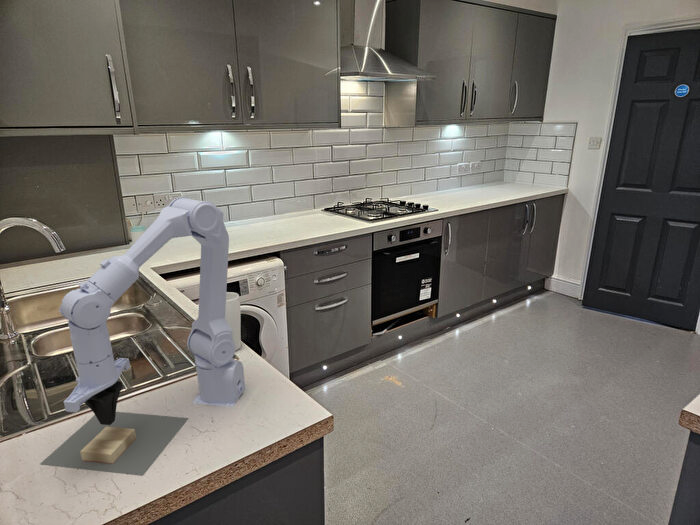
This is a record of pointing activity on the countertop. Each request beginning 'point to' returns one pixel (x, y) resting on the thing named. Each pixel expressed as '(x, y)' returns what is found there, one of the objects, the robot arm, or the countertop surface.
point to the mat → (136, 458)
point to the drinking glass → (234, 317)
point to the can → (137, 232)
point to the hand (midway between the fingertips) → (107, 422)
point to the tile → (108, 445)
